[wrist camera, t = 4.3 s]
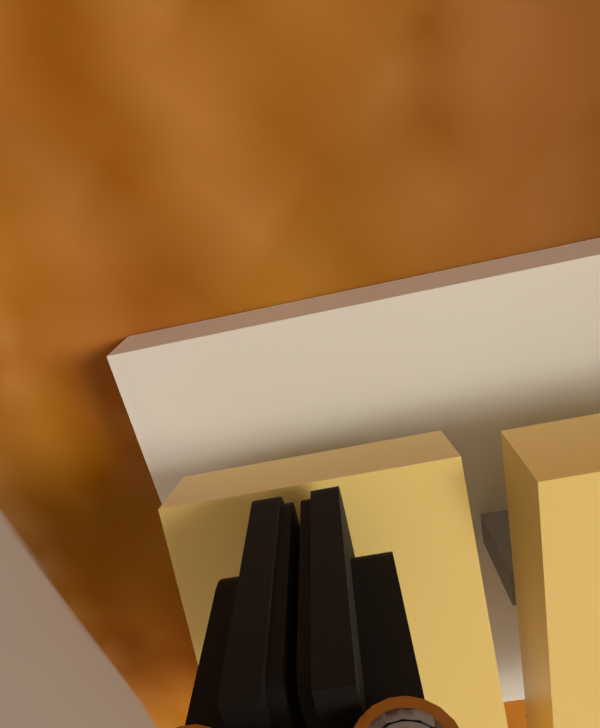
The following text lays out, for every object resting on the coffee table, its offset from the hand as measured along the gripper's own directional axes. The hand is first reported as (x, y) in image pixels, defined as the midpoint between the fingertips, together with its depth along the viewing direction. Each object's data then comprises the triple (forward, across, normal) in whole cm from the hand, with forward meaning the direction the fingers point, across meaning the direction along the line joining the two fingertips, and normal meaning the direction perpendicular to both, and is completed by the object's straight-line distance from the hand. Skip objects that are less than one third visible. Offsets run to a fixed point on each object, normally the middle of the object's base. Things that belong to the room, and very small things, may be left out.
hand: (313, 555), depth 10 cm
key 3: (0, 0, +3) cm, 3 cm away
